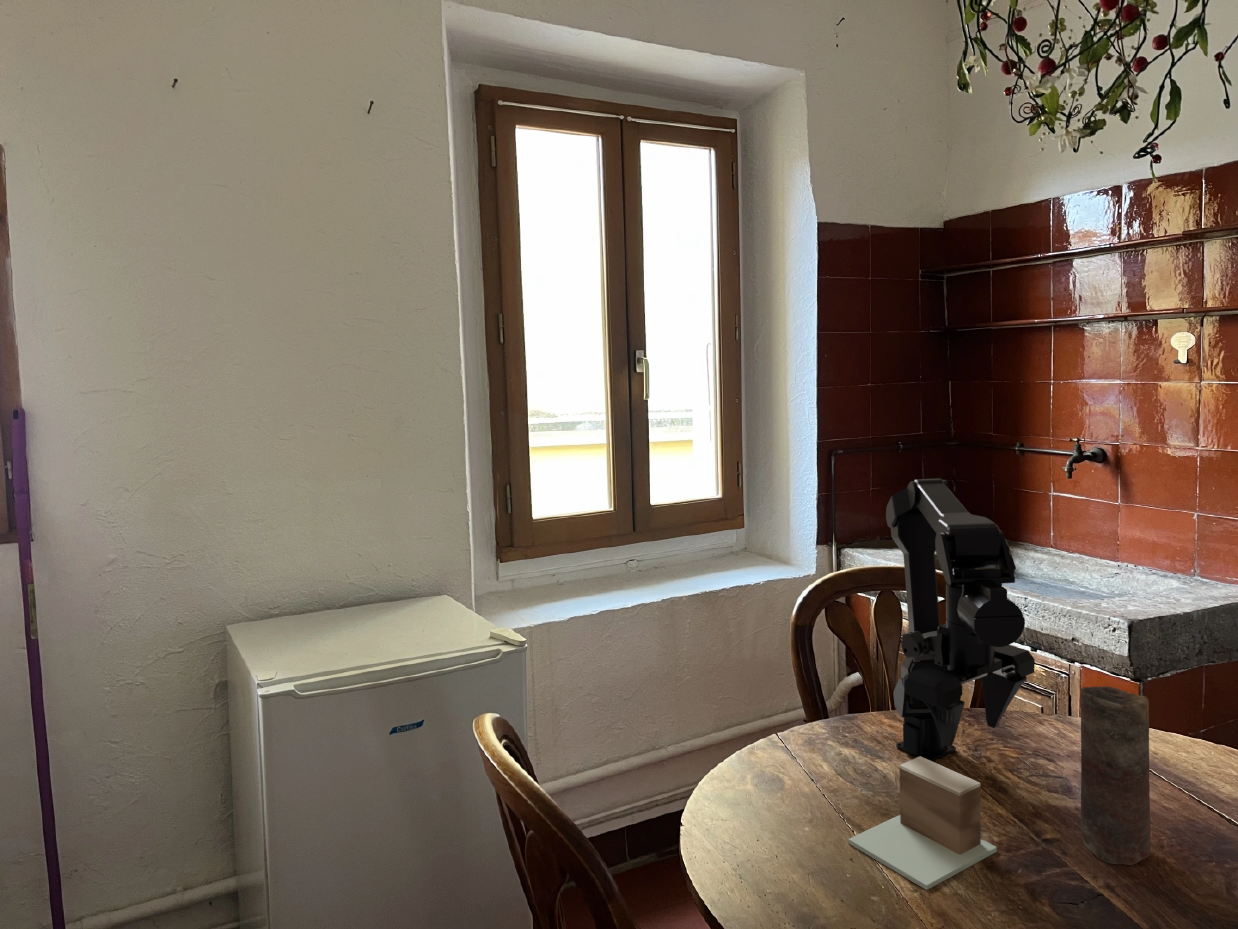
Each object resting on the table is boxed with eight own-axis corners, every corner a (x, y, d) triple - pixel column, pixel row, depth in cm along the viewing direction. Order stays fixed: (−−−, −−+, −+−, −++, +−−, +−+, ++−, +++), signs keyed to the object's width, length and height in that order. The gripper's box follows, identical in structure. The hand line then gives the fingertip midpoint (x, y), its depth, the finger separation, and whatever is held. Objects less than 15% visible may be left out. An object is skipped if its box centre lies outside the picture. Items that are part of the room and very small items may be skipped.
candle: (1067, 835, 109) (1068, 683, 106) (1123, 830, 109) (1125, 678, 106) (1104, 870, 101) (1106, 707, 99) (1164, 865, 101) (1168, 702, 99)
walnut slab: (920, 813, 114) (920, 756, 113) (980, 844, 107) (980, 783, 106) (900, 823, 112) (899, 765, 111) (959, 855, 104) (959, 793, 104)
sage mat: (916, 811, 116) (916, 806, 116) (996, 851, 106) (996, 847, 106) (848, 843, 109) (848, 839, 109) (926, 890, 99) (926, 885, 99)
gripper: (964, 592, 121) (964, 698, 123) (869, 619, 112) (871, 733, 114) (1037, 610, 111) (1036, 725, 113) (940, 642, 102) (941, 766, 104)
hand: (970, 735), depth 111 cm, fingers open, 8 cm apart
